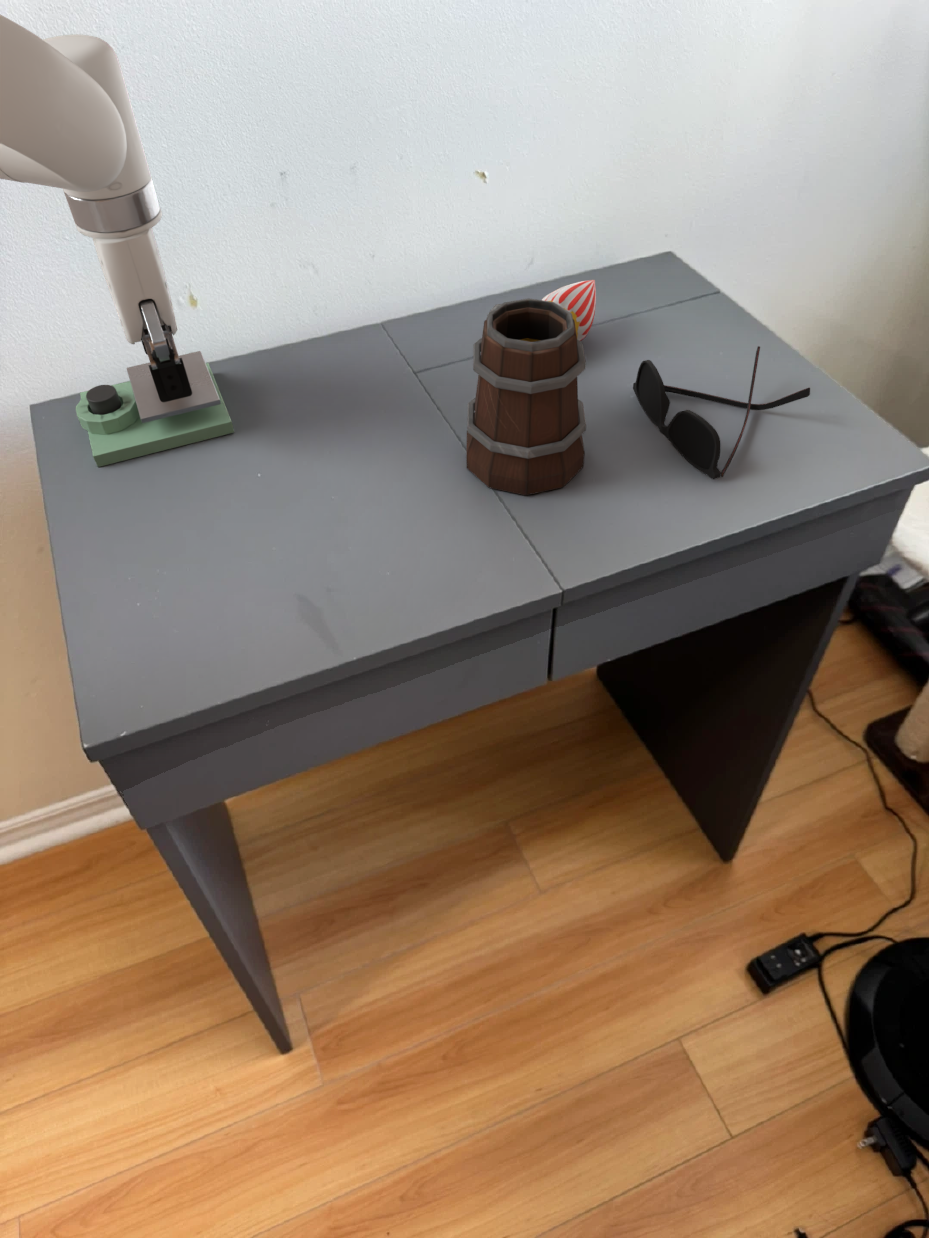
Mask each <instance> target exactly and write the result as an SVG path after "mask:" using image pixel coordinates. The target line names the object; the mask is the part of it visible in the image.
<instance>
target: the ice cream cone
mask: <svg viewBox="0 0 929 1238" xmlns="http://www.w3.org/2000/svg"><path fill="white" fill-rule="evenodd" d="M541 300H543V301H550V302H554V303H556V304H557V305H559V306H561V307H562V308H564V309H565V310H567V311H568V312H570V313H572V317H573V319H574V321H575V328H576V335H577V340H579V341H581V342H582V341H583V340H584V339H585V338H586V337H587V335H588V333H589V332H590V331H591V328H592V326H593V323H594V319H595V315H596V305H597V304H596V303H597V290H596V280H595V279H589V280H582V281H577V282H574V283H571V284H567V285H563V286H561V287H559V288H557V289H556V290H554V291H552V292H550V293H548V294H547V295H545V296H544V297H543V298H542V299H541Z"/></svg>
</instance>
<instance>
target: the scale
mask: <svg viewBox="0 0 929 1238" xmlns="http://www.w3.org/2000/svg"><path fill="white" fill-rule="evenodd" d="M205 363H206V365H207V368H208V371H209V373H210V376H211V378H212V381H213V383H214V386H215V388H216V391H217V394H218V396H219V399H220V402H221V404H220V405H215V406H211V407H207V408H203V409H199V410H195V411H191V412H187V413H183V414H179V415H175V416H171V417H167V418H163V419H158V420H154V421H150V422H146V423H142V421H141V418H140V415H139V411H138V408H137V404H136V401H135V397H134V393H133V390H132V386H131V383H130V380H129V381H124V382H119V383H116V384H115V383H114V384H110V385H111V386H113V387H114V388H115V389H116V391H117V393H118V396H119V399H120V401H121V407H120V409H118V410H116V411H115V412H113V413H109V414H105V415H97V414H94V413H93V412H92V410H91V408H90V405H89V403H88V401H87V398H86V394H87V392H88V391H89V390H85V391H82V392H79V395H80V400H79V402H78V403H77V404H76V406H75V413H76V417H77V419H78V422H79V423H80V426H81V428H82V429H83V430H85V431H87V435H88V439H89V443H90V448H91V453H92V458H93V460H94V462H95V464H96V467H97V468H99V467H105V466H107V465H112V464H115V463H120V462H125V461H127V460H131V459H134V458H139V457H143V456H147V455H150V454H155V453H158V452H162V451H166V450H171V449H175V448H179V447H182V446H185V445H186V446H187V445H190V444H195V443H199V442H202V441H206V440H210V439H214V438H219V437H222V436H226V435H230V434H233V433H235V429H234V425H233V422H232V418H231V416H230V414H229V411H228V409H227V407H226V404H225V400H224V398H223V396H222V394H221V391H220V388H219V386H218V384H217V381H216V378H215V376H214V373H213V371H212V368H211V366H210V363H209V362H205Z"/></svg>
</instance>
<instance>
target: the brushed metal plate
mask: <svg viewBox="0 0 929 1238" xmlns="http://www.w3.org/2000/svg"><path fill="white" fill-rule="evenodd" d="M179 358H182V360H183V363H184V367H185V370H186V373H187V377H188V380H189V383H190V387H191V390H192V395H191V396H189V397H184V398H180V399H176V400H172V401H168V402H161V401H160V399H159V396H158V393H157V390H156V387H155V384H154V381H153V378H152V375H151V372H150V369H149V366H148V365H151V363H150V362H146V363H142V364H138V365H133V366H127V367H126V372H127V376H128V379H129V381H130V383H131V386H132V390H133V393H134V397H135V401H136V404H137V408H138V411H139V415H140V418H141V421H142V423H146V422H150V421H154V420H158V419H163V418H167V417H171V416H175V415H179V414H183V413H187V412H191V411H195V410H199V409H203V408H207V407H211V406H215V405H220V404H221V402H220V399H219V396H218V394H217V391H216V388H215V386H214V383H213V381H212V378H211V376H210V373H209V371H208V368H207V365H206V363H207V362H206V360H205V358H204V356H203V352H202V351H201V350H197V351H193V352H189V353H185V354H181V355H179Z"/></svg>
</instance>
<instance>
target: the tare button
mask: <svg viewBox="0 0 929 1238" xmlns="http://www.w3.org/2000/svg"><path fill="white" fill-rule="evenodd" d="M111 385H112V384H99V385H96V386H93V387H92V388H90V389H89V390H87V391H88V392H87V394H86V398H87V401H88V403H89V405H90V408H91V410H92V412H93V413H94V414H97V415H105V414H109V413H113V412H115V411H116V410H118V409H120V407H121V401H120V399H119V396H118V393H117V391H116V389H115V388H114V387H113V386H111Z"/></svg>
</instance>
